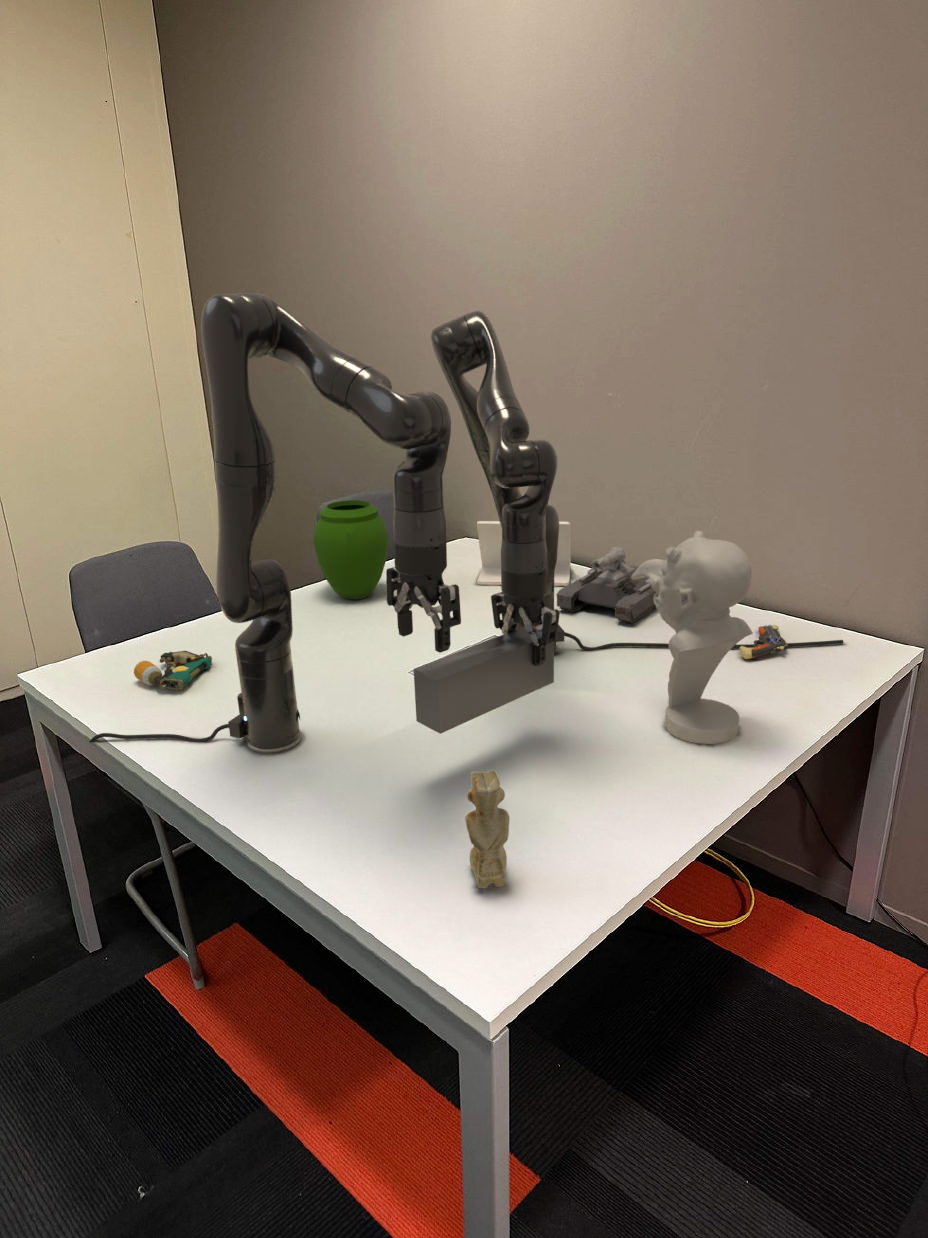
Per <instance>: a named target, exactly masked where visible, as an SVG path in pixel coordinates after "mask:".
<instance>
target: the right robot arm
mask: <svg viewBox="0 0 928 1238" xmlns="http://www.w3.org/2000/svg"><path fill="white" fill-rule="evenodd" d="M430 342H431V346H432V349H433V352H434V355H435V358H436V360H437V362H438V364H439V367H440V368H441V371H442V373H443V375H444V377H445V379H446V382H447V383H448V387H449V388H450V390H451V392H452V394H453V396H454V398H455V401H456V403H457V405H458V407H459V410H460V413H461V415H462V418H463V422H464V424H465V426H466V428H467V432H468V435H469V437H470V441H471V444H472V446H473V449H474V451H475V454H476V456H477V459H478V462H479V464H480V466H481V468H482V470H483V473H484V475H485V478H486V480H487V484H488V486H489V490H490V492H491V495H492V498H493V502H494V505H495V510H496V513H497V516H498V521H500V524H501V527H502V546H501V585H500V589H501V591H500V592H498V593H497V592H496V593H494V594H492V595H491V596H490V601H491V609H492V617H493V624H494V627H495V629H499V630H500V631H501V633H502V635H504V634H506V633H509V632H512V631H514V630H517V629H519V628H522V627H525V628H526V631H527V633H528V634H530V636H531V639H532V642H533V644H534V645H533V665H534V666H539V665H541V664H543V663H544V662H545V660H546V645H548V644H550V643H553V642H554V655H557V654H558V653H557V650H558V649H557V648H558V647H557V645H558V644H557V643H562V642H565V637H566V638H569V639H572V640H574V641H575V642H576V644H577V645H578V647H579V648H580V649H581V650H582V651H586V652H593V651H600V650H605V649H609V648H618V647H637V648H640V647H641V648H669V642H668V643H667V642H665V643H663V642H660V643H659V642H611V643H606V644H602V645H599V646H594V647H590V646H586V645H583V644H582V641H581V640H580V638H579V637H577V636H576V635H574V634H572V633H568V632H566V631H565V630H564V629H563V628H562V627H561V625H560V624H559V622H560V616H561V615H560V610H559V609H558V608H555V586H554V572H555V567H556V563H557V554H558V537H559V522H560V520H559V518H560V517H559V514H558V511H557V509H556V507H554V506H553V505H551V504H548V503H549V500H550V497H551V492H552V489H553V485H554V483H555V479H556V476H557V472H558V471H557V470H558V456H557V452H556V450H555V447H554V446H553V445H552V443H550V442H549V441H547V440H545V439H532V440H528V438H529V436H530V423H529V421H528V419H527V416H526V414H525V412H524V410H523V408H522V406H521V403H520V401H519V400H518V397H517V395H516V393H515V390H514V387H513V384H512V380H511V377H510V373H509V370H508V369H509V368H508V366H507V363H506V359H505V356H504V353H503V350H502V347H501V345H500V341H499V338H498V336H497V334H496V330H495V329H494V326H493V324H492V322H491V320H490V319H489V317H488V316H487V315H486V313H484V312H483V311H481V310H474V311H470V312H467V313H465V314H463V315H461V316H459V317H457V318H454V319H452V320H449V321H447V322H445V323H443V324H439V325H438V326H436V327H435V328H434V329H432V331H431V334H430ZM484 366H486V367H485V370H484V375H483V378H482V381H481V383H480V386H479V390H477V389H476V388H475V387H474V386H473V385H472V384H471V383H470V382H469V381H468V380H467V378H466V377H465V376H464V375H465V374H467V373H470V372H472V371H474V370H477V369H479V368H482V367H484ZM526 487H528V488H527V490H526V492H525V493H524V494H523V495H522V492H521V491H520V488H526ZM533 626H534V627H533ZM537 631H538V632H539V635H540V637H539V638H538V635H537ZM786 644H787V645H788V646H784V648H794V647H795V648H797V647H811V646H812V647H814V646H829V645H842V644H844V640H843V639H836V640H835V639H834V640H823V641H822V640H820V641H805V642H790V643H789V642H788V643H787V642H786ZM753 645H754V643H752V644H751V643H750V644H748V643H747V644H742V643H741V644H736V645H735V646H733V647H732V648H731V649H740V647H741V646H744V647H753ZM757 645H763V644H757Z"/></svg>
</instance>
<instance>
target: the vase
mask: <svg viewBox="0 0 928 1238" xmlns="http://www.w3.org/2000/svg"><path fill="white" fill-rule="evenodd" d="M385 521H386V520H384V519H383V518H382V517H381V516H380V515H379V509H378V508H377V507H376V506H375V505H374V504H371V503H370V502H368V501H365V500H355V499H354V500H340V501H335V502H331V503H329V504H327V505H326V506H325V507H324V508H322V510H320V511H319V519H318V520H317V522H316V523H315V525H314V531H313V539H312V542H313V546H314V550H315V554H316V559H317V562H318V564H319V567H320V568H321V571H322V573H323V575H324V578H325V579H326V582H327V583H328V585H330V587H331V588H332V590H333V591H334V592H335V593H336V594H337V595H338V596H339V597H340V598H343V599H345V600H353V601H354V600H362V599H365V598H367V597H368V596H370V595H372V594H373V592H374V591H375V590H376V588H377V586H378V584H379V582H380V580H381V578H382V576H383V573H384V568H385V565H386V563H387V557H388V550H389V549H388V547H389V532H388V529H387V525H386V522H385Z"/></svg>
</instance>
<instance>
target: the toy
mask: <svg viewBox="0 0 928 1238" xmlns="http://www.w3.org/2000/svg"><path fill="white" fill-rule="evenodd" d="M626 557H627V556H626V551H625V549H624V548H622V547H621V546H614V547H612V548H611V549H610V550H609V552H608V553H607V554H605V555H604V556H601V557H599V558H598V559H597V557H596V558H594V559H593V560H592V561H590V562H589V563H590V564H591V565H592V567H591V568H590V569H589V570H587V573H586V575H584V576H582V577H580V578H578V579H577V580H575V581H573V582H570V583H569V585H567V586H563V587H562V588H560V589H559V590H558V591H557V592H556V607H558V608H559V609H560V610H562V611H566V612H572V613H575V612H577V611H579V610H581V609H582V608H585V607H586V606H588V605H592V606H598V607H602V608H603V607H604V608H609V609H613V610H614V618H615V619H617V620H618V621H621V622H626V623H631V624H634V623H635V622H637V621H638V620H640V619H641V618H642V617H644V616H645V615H647V614H648V613H650V612H651V611H652V610H654V609H655V608H656V605H655V604H654V600H653V597H654V594H655V593H656V592H655V591H654V590H653V589H652V587H651V583H650V579H649V578H647V577H644V578H640V579H635V580H634V579H632V578H631V576H632V575H633V574H634V573H635V571H636V570H637V569H638V568H639V566H635V565H629V564H628V563H627V562H626V561H625V559H626Z"/></svg>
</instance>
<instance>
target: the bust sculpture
mask: <svg viewBox="0 0 928 1238" xmlns="http://www.w3.org/2000/svg"><path fill="white" fill-rule="evenodd" d="M664 554H665V559H660V558H653V559H648V560H645V561H644V562H642V563H641V564H640V565H639V566H638V567H639V568H638V569H637V570H636V571H635V573H634V574H633V575H632V576H631V578H632V579H634V580H635V579H640V578H644V577H647V578H649V579H650V583H651V587H652V589H653V590H654V591H655V592H656V593H655V594H654V597H653V600H654V604H655V605H656V607H655V608H656V611H657V612H658V614H659V615H660V618H661V619H662V620H663V622H665V623H666V624H667V625H668V626H669V627H670V628H671V629H672V630H673V631H675V634H673V635H672V636H671V638H669V641H668V644H669V647H668V649H669V653H670V654H671V657H672V658H673V660H672V663H671V666H670V669H669V673H668V682H667V694H668V696H667V697H668V700H667V705H668V706H666V708H665V718H664V726H665V728H666V730H667V731H668V732H669V733H670V734H671V735H673V736H675V737H676V738H679V739H680V740H683V741H687V742H691V743H696V744H703V745H713V744H721V743H726V742H729V741H731V740H733V739H734V738H736V736H738V733H739V729H740V728H739V727H740V715H739V714H740V713H738V711H737V710H736V709H735V708H734V707H732V706H730V705H728V704H727V703H724V702H721V701H719V700H714V699H709V698H702V696H703V695H704V694H703V693H704V692H705V690H706V687H707V685H708V684H709V681H710V680H711V678H712V676H713V674H714V673H715V671H716V670H717V668H718V667H719V665H720V664H721V662H722V661H723V660H724V658H725V656H726V655H727V654H728V653H729V652H730V651H731V650H732V649H733V648H732V647H733V646H735V645H738V643H739V642H741V641H742V640H743V639H745V638H747V637H749V636H751V635H753V634H754V632H753V630H752V629H751V628H750V626H749V624H748V623H747V622H746V621H745V620H744V619H743V618H740V617H737V616H731V614H730V613H731V610H730V608H732V607H734V606H736V605H737V604H739V603H740V602H741V601H742V600H744V599H745V597H746V595H747V594H748V592H749V590H750V586H751V583H752V574H753V573H752V572H753V571H752V565H751V561H750V559H749V557H748V555H747V554H746V552H745V551H744V550H743V549H742V548H741V547H740V546H739V545H737V544H736V543H734V542H731V541H728V540H723V539H711V538H707V536H706V534H705V532H703V530H696V531H694V533H693V536H691V537H689V538H687V539H684V541H682V542H681V543H679V544H678V545H677V546H675V547H674V546H669V547H667V548H666V551H665V553H664Z"/></svg>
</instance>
